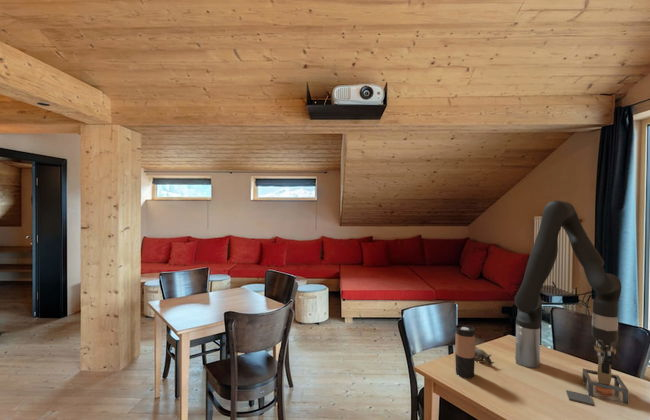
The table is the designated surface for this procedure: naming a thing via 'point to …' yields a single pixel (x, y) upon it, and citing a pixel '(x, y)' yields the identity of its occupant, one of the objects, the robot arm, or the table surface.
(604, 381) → the handle
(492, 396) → the table surface
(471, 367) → the travel mug
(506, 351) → the table surface
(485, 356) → the rhino figurine
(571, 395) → the rubber mat
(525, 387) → the table surface
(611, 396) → the guard frame
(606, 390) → the button
